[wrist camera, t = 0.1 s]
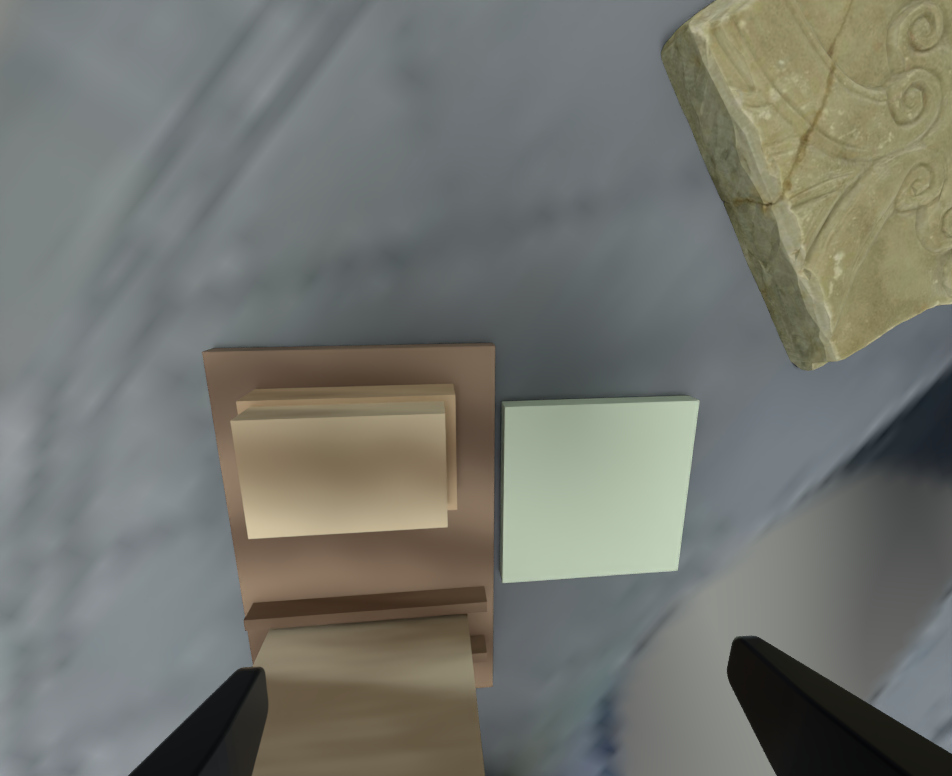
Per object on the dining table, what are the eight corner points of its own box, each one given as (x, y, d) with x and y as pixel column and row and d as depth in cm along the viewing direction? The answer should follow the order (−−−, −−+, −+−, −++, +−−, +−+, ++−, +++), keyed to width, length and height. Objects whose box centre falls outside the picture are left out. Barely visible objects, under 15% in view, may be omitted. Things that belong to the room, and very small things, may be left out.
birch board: (466, 632, 24) (486, 829, 16) (279, 647, 23) (191, 866, 15) (466, 601, 24) (486, 787, 15) (275, 615, 23) (181, 823, 14)
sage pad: (668, 559, 26) (677, 570, 25) (499, 571, 25) (502, 583, 24) (688, 395, 23) (699, 400, 22) (501, 401, 22) (504, 407, 21)
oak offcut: (454, 489, 22) (457, 509, 20) (269, 498, 21) (253, 520, 19) (452, 383, 21) (455, 394, 19) (254, 389, 20) (236, 401, 18)
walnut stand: (490, 671, 26) (495, 706, 24) (266, 692, 25) (251, 730, 23) (492, 342, 21) (498, 350, 19) (213, 348, 20) (187, 357, 18)
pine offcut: (446, 505, 20) (447, 527, 18) (264, 515, 19) (248, 538, 18) (443, 400, 19) (445, 413, 17) (249, 406, 18) (230, 420, 16)
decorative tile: (649, 50, 19) (697, 1, 16) (1063, -215, 18) (1210, -328, 15) (784, 390, 24) (843, 410, 21) (1116, 195, 23) (1235, 182, 20)
